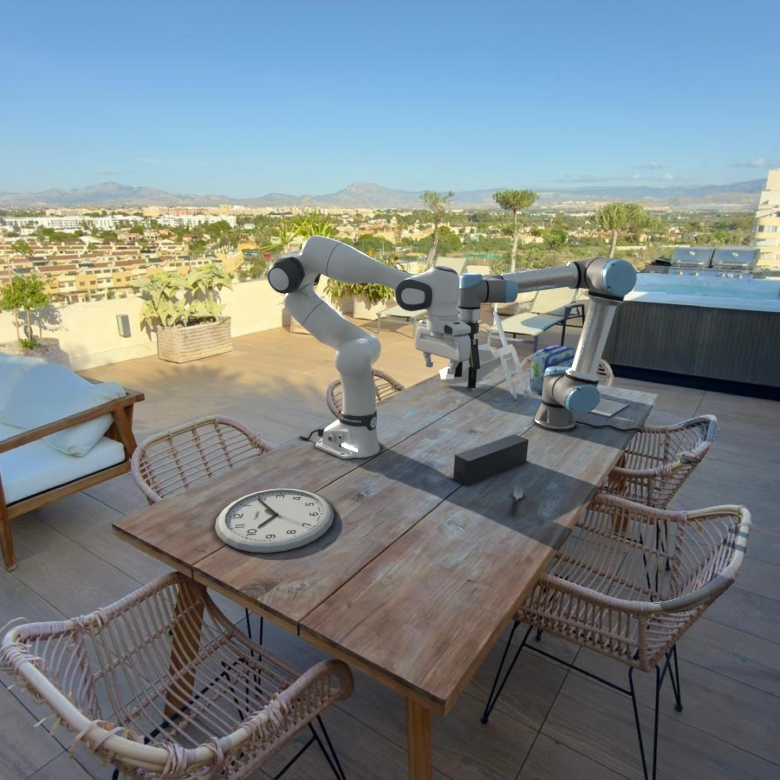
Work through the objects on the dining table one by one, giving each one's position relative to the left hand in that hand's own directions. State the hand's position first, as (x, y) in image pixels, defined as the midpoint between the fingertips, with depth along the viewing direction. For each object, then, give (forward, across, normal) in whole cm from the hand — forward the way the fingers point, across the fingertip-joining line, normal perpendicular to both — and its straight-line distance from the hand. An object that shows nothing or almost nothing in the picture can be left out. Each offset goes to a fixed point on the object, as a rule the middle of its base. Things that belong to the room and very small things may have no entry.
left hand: (439, 370), depth 155 cm
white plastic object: (+33, -48, +72) cm, 92 cm away
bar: (+32, +10, +14) cm, 37 cm away
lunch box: (+32, -31, +102) cm, 112 cm away
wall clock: (+33, -3, -53) cm, 62 cm away
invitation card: (+32, -3, +100) cm, 106 cm away
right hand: (+10, -11, +23) cm, 27 cm away
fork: (+32, +29, +4) cm, 44 cm away
